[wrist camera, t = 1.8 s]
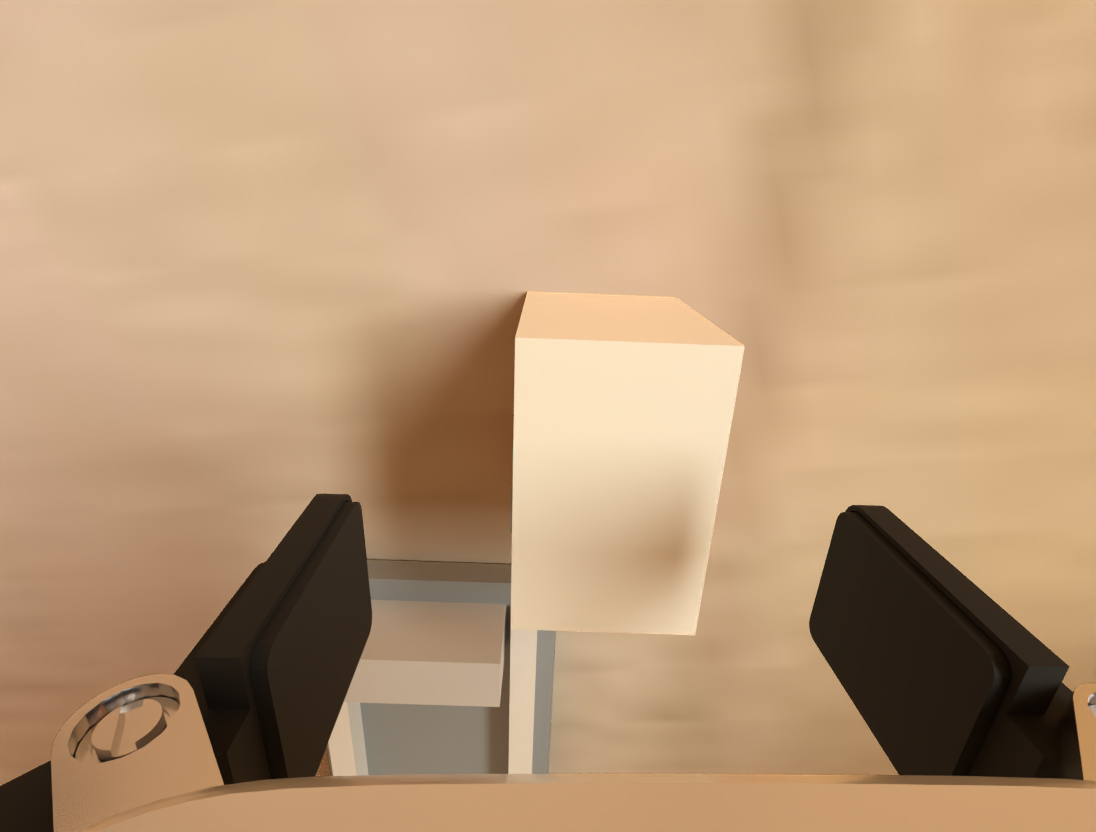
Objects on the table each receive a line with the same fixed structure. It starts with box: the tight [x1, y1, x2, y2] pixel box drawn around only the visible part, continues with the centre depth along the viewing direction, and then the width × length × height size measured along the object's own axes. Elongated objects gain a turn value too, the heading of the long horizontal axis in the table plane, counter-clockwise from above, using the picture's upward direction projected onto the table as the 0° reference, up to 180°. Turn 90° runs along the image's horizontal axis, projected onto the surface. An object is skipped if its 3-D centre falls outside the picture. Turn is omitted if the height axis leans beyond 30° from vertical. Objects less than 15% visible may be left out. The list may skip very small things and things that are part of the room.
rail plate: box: [326, 559, 556, 776], centre depth 24 cm, size 10×22×4 cm, turn 178°
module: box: [511, 291, 745, 635], centre depth 16 cm, size 5×8×7 cm, turn 178°
